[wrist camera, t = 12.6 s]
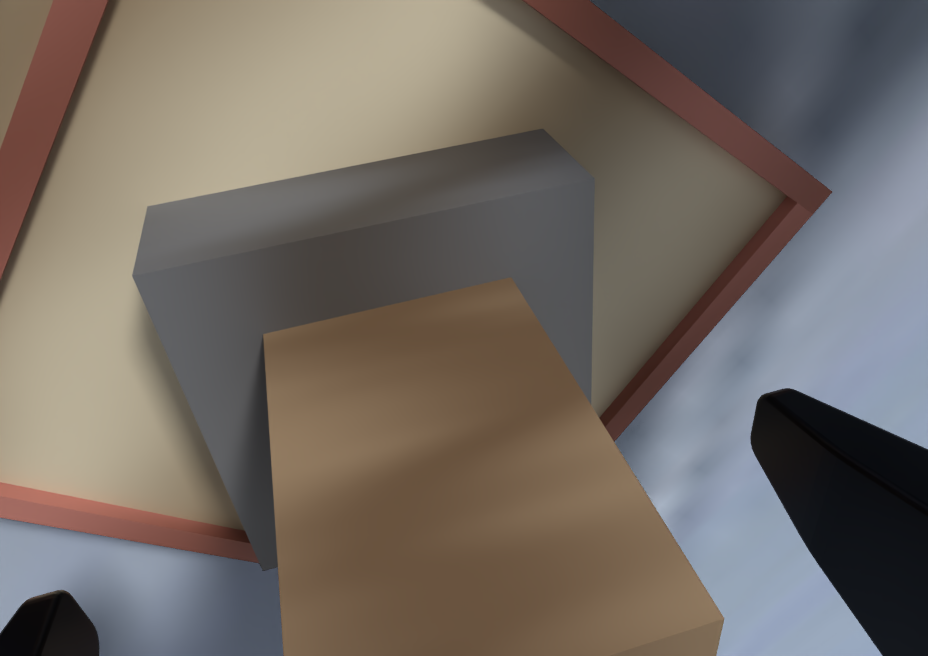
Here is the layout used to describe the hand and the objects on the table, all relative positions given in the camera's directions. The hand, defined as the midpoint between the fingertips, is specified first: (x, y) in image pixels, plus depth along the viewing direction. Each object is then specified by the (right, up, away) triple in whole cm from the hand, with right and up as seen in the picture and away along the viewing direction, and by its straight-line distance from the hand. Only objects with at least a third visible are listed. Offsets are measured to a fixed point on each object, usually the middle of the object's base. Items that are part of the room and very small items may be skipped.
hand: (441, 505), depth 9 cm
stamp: (-1, +2, +3) cm, 4 cm away
